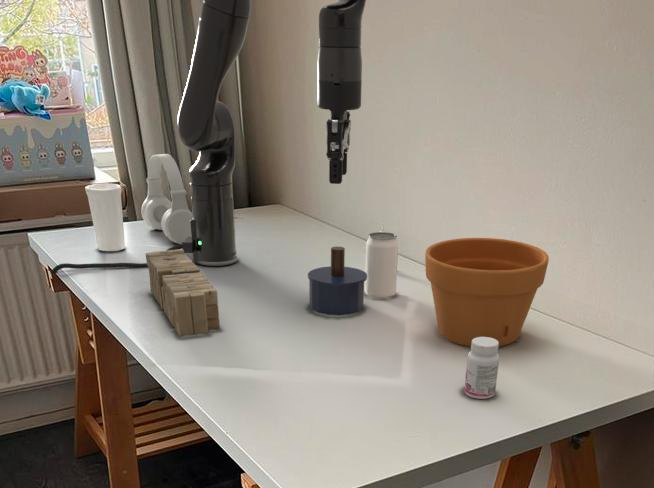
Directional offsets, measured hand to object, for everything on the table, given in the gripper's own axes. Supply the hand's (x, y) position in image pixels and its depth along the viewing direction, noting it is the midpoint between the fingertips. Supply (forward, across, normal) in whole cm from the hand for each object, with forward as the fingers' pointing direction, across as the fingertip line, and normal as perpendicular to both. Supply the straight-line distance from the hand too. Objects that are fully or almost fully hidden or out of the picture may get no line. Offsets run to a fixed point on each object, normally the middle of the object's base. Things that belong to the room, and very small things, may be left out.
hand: (338, 178), depth 139 cm
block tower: (+24, +6, -29) cm, 38 cm away
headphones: (+24, -50, -48) cm, 73 cm away
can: (+24, -10, +8) cm, 28 cm away
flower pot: (+24, +10, +27) cm, 38 cm away
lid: (+18, 0, 0) cm, 18 cm away
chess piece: (+24, -29, +7) cm, 38 cm away
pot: (+24, 0, 0) cm, 24 cm away
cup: (+24, -35, -58) cm, 72 cm away
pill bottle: (+24, +36, +26) cm, 51 cm away
